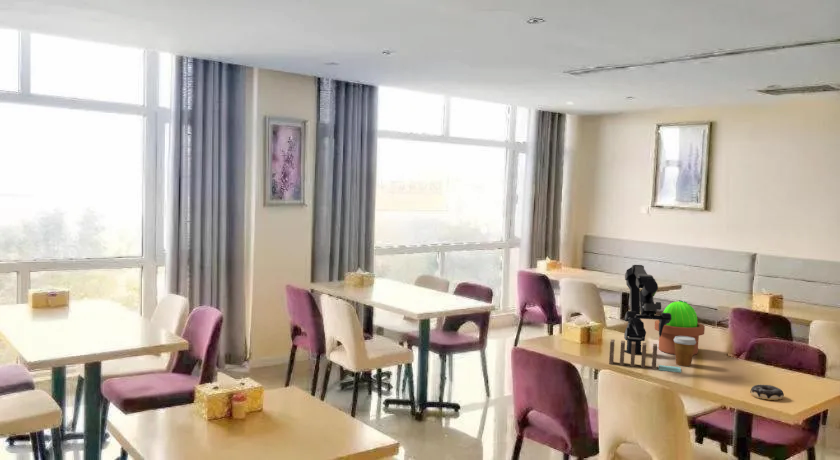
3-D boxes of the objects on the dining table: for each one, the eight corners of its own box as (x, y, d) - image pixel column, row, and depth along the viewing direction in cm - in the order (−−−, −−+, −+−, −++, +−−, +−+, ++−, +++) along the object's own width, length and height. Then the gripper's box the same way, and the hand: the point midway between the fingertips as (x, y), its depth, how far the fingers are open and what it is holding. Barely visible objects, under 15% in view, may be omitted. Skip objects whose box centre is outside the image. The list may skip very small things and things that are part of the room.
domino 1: (609, 364, 311) (610, 341, 310) (609, 361, 315) (610, 339, 315) (612, 364, 310) (614, 342, 309) (613, 361, 315) (614, 339, 314)
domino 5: (652, 368, 305) (653, 345, 304) (651, 366, 310) (653, 343, 309) (655, 369, 305) (657, 346, 304) (655, 366, 309) (657, 343, 309)
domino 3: (630, 366, 308) (631, 343, 307) (630, 363, 313) (631, 341, 312) (634, 366, 307) (635, 344, 307) (634, 364, 312) (635, 341, 311)
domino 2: (619, 365, 309) (620, 342, 309) (620, 362, 314) (621, 340, 313) (623, 365, 309) (624, 343, 308) (623, 363, 313) (625, 340, 313)
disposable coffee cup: (691, 362, 319) (692, 336, 318) (697, 367, 309) (699, 340, 308) (669, 361, 320) (671, 335, 319) (675, 366, 310) (676, 339, 309)
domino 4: (641, 367, 306) (642, 344, 306) (641, 364, 311) (642, 342, 311) (645, 368, 306) (646, 345, 305) (645, 365, 311) (646, 342, 310)
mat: (658, 370, 303) (658, 369, 303) (658, 365, 310) (658, 364, 310) (681, 372, 300) (681, 371, 300) (680, 368, 308) (680, 367, 308)
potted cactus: (670, 357, 327) (674, 304, 325) (645, 346, 348) (647, 296, 346) (712, 356, 332) (715, 303, 330) (684, 345, 353) (687, 296, 351)
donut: (788, 399, 268) (789, 388, 267) (772, 403, 261) (773, 393, 260) (760, 391, 277) (761, 381, 276) (743, 395, 270) (744, 385, 269)
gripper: (628, 293, 303) (630, 327, 296) (673, 295, 301) (676, 330, 294) (623, 303, 313) (625, 337, 305) (667, 306, 311) (669, 339, 303)
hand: (649, 335), depth 302 cm, fingers open, 9 cm apart
